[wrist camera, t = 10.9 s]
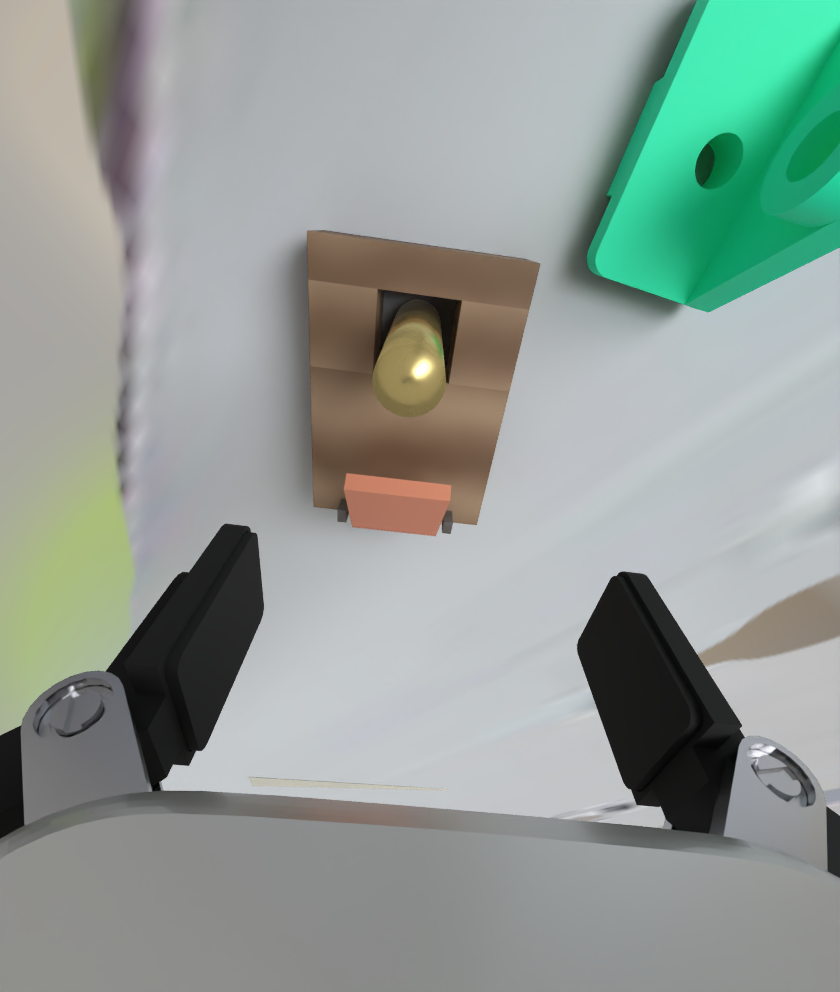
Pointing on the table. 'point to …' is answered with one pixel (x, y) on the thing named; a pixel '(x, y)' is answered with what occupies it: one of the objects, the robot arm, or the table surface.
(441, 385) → the brass pin
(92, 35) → the table surface
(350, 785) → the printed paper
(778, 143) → the camera mount
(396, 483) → the orange flat plate
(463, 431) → the hitch block
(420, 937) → the robot arm
